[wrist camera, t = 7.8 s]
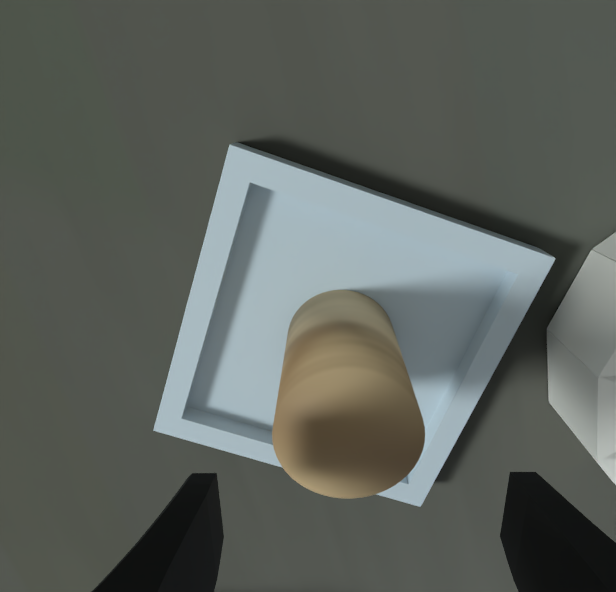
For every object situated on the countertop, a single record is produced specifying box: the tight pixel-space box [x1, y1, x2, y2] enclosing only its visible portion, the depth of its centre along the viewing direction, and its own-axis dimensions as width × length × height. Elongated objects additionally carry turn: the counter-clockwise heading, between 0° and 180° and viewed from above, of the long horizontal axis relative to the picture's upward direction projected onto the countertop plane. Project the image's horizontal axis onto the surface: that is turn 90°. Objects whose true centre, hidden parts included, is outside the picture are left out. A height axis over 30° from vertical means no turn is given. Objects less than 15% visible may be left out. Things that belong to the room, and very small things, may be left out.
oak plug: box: [272, 290, 425, 498], centre depth 17 cm, size 4×4×6 cm
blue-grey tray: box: [153, 142, 556, 507], centre depth 20 cm, size 12×12×2 cm
